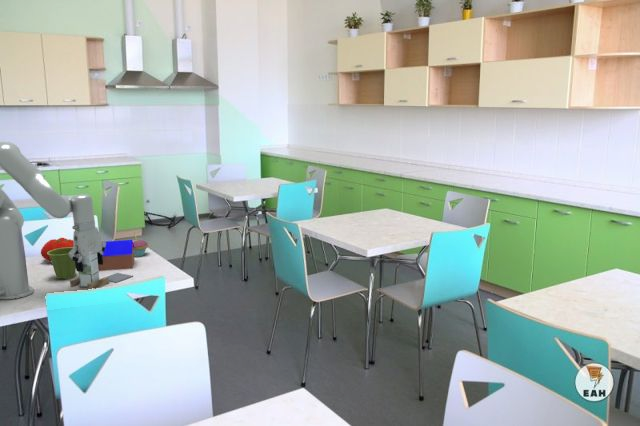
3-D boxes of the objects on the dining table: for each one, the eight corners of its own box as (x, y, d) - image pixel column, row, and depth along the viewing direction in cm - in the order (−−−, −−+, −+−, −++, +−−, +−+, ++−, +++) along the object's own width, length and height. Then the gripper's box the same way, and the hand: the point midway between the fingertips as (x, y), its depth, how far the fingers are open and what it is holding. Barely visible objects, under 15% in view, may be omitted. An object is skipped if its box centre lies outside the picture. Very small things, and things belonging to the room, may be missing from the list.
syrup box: (100, 282, 221) (97, 248, 218) (93, 287, 215) (89, 252, 212) (86, 282, 222) (83, 247, 219) (79, 287, 216) (75, 251, 213)
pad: (116, 282, 221) (116, 281, 221) (100, 279, 225) (100, 278, 225) (133, 276, 229) (132, 275, 229) (117, 273, 233) (117, 272, 233)
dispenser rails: (89, 290, 212) (88, 284, 211) (70, 286, 217) (70, 280, 216) (109, 283, 220) (108, 277, 220) (90, 279, 225) (89, 273, 225)
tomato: (71, 264, 246) (69, 243, 244) (35, 265, 247) (33, 243, 245) (85, 256, 260) (83, 235, 258) (51, 256, 261) (49, 236, 259)
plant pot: (65, 271, 237) (63, 246, 234) (87, 274, 232) (84, 248, 230) (43, 279, 226) (40, 253, 224) (65, 282, 222) (62, 255, 219)
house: (89, 264, 247) (86, 239, 245) (135, 261, 252) (133, 236, 249) (84, 272, 236) (81, 246, 233) (133, 268, 240) (131, 243, 238)
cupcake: (126, 256, 259) (124, 232, 256) (137, 252, 267) (135, 228, 264) (141, 258, 256) (140, 233, 254) (152, 253, 264) (150, 229, 262)
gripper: (72, 231, 205) (78, 275, 208) (109, 221, 220) (113, 262, 223) (59, 230, 208) (65, 273, 212) (95, 220, 223) (100, 260, 227)
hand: (90, 267), depth 217 cm, fingers open, 9 cm apart
